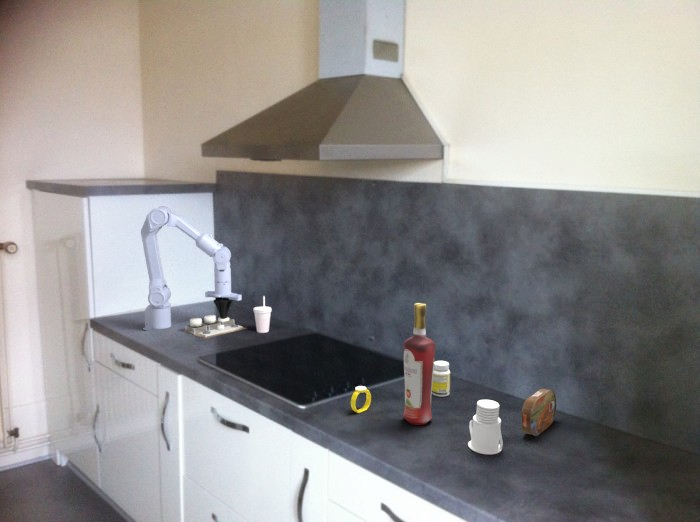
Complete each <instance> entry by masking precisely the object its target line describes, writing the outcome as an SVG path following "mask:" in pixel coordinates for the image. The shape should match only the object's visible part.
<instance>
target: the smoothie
mask: <svg viewBox="0 0 700 522" xmlns="http://www.w3.org/2000/svg"><path fill="white" fill-rule="evenodd" d="M262 302H263V303H262V305H263V306H255V307H253V309H252V310H253V311H252V312H253V313H254V321H255V327H256V332H257V333H259V334H264V333H268V332H269V330H270V324H271V323H270V322H271V313H272V312H273V311H272V307H271V306H268V305H267V306H266V297H265V295H263V296H262Z"/></svg>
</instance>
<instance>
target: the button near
mask: <svg viewBox="0 0 700 522" xmlns="http://www.w3.org/2000/svg"><path fill="white" fill-rule="evenodd" d="M202 322H203V319H202V318H201V317H192V318H190V319H189V325H190V326H191V327H199V326H202Z"/></svg>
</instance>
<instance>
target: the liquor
mask: <svg viewBox="0 0 700 522" xmlns="http://www.w3.org/2000/svg"><path fill="white" fill-rule="evenodd" d="M413 305H414V307H413V308H414V309H413V312H414V325H413V333H412V336H410V337H408V338H406V340H404V341H403V342H402V343H403V372H404V373H403V374H404V412H403V413H402V416H403V418H404V419H405V420H406V421H407V422H408V423H409V424H411V425H415V426H423V425H426V424H427V423H428V422H429V421H430V420H431V419H432V418H433V414H432V411H431V408H432V395H433V394H432V380H433V370H434V362H435V355H436V353H435V352H436V342H435V341H433V339H431V338H429V337H427V332H426V331H427V330H426V320H425V319H426V314H427V304H426V303H422V302H417V303H414V304H413Z"/></svg>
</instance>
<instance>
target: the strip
mask: <svg viewBox="0 0 700 522" xmlns="http://www.w3.org/2000/svg"><path fill="white" fill-rule="evenodd" d="M243 327H244V326H242V325H239V324H235V325H231V326H227V327H224V325H217V329H214V330H209V331H204V332H201V333H198V335H201V336H204V337H207V336H211V335H216V334H220V333H224V332H228V331H232V330H236V329H240V328H243Z"/></svg>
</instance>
